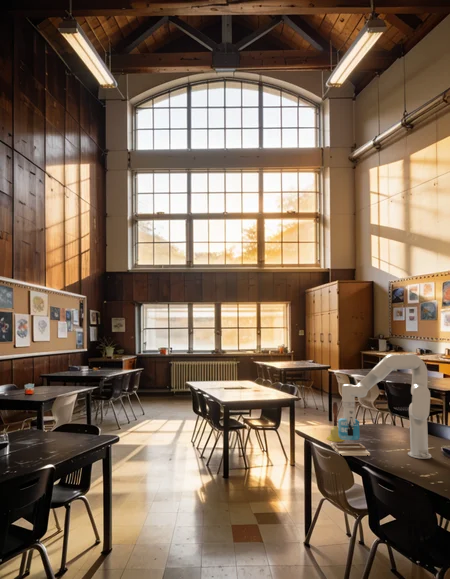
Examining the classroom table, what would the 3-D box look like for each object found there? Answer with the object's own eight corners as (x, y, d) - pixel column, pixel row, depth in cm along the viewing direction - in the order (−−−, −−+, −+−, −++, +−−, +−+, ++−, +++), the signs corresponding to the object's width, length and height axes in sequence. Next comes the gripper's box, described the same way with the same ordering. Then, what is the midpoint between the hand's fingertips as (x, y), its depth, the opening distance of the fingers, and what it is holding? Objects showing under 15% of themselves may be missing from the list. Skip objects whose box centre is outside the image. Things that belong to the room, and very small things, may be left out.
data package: (339, 439, 267) (339, 419, 268) (338, 437, 272) (338, 418, 273) (359, 440, 267) (359, 420, 268) (357, 438, 271) (357, 418, 272)
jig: (370, 455, 258) (370, 450, 258) (339, 455, 258) (339, 450, 258) (358, 445, 280) (357, 440, 280) (330, 445, 279) (330, 440, 280)
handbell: (346, 442, 289) (345, 403, 291) (327, 441, 290) (326, 403, 292) (343, 437, 301) (342, 400, 303) (325, 437, 302) (324, 400, 305)
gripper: (359, 406, 263) (359, 437, 261) (350, 402, 280) (350, 431, 278) (346, 406, 263) (347, 437, 261) (338, 402, 280) (339, 431, 278)
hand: (349, 434), depth 270 cm, fingers closed on data package, 4 cm apart
